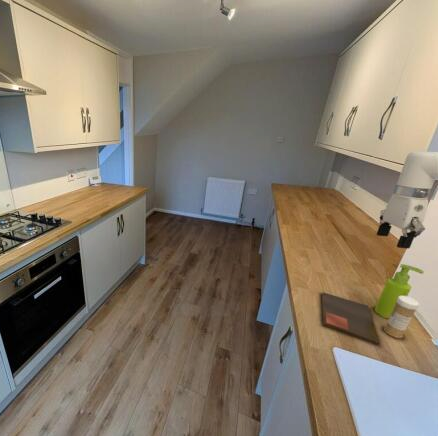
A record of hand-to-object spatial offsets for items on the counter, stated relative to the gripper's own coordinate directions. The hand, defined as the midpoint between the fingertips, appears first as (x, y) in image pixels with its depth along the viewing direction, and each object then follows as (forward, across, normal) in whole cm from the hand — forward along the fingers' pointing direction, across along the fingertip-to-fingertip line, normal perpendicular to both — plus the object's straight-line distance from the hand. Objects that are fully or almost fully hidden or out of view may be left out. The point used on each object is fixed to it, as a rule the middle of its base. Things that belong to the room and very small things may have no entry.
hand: (391, 241), depth 80 cm
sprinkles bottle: (+28, -13, -1) cm, 30 cm away
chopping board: (+27, -8, +10) cm, 30 cm away
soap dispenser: (+28, -3, -5) cm, 28 cm away
